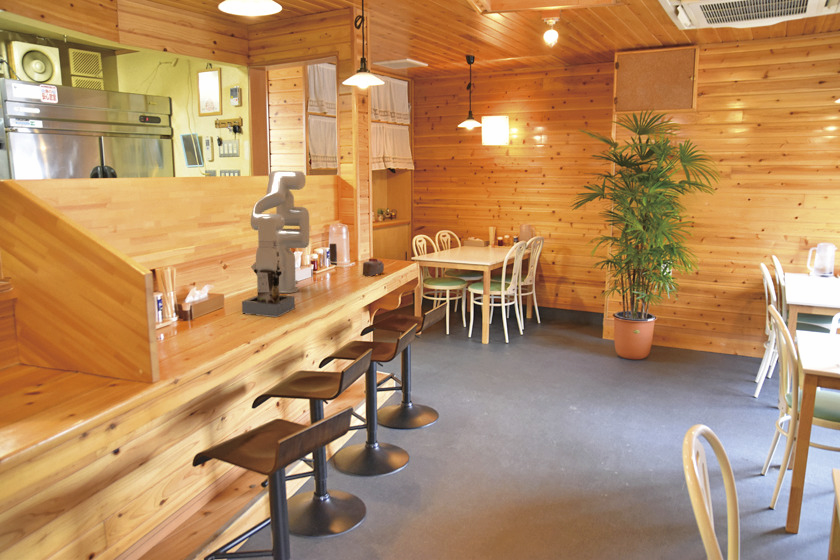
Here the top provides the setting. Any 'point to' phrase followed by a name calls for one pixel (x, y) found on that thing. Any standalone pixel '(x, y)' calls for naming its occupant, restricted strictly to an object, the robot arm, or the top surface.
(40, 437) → the top surface
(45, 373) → the top surface
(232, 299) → the top surface
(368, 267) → the food item
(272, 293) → the coffee box
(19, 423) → the top surface
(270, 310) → the socket
